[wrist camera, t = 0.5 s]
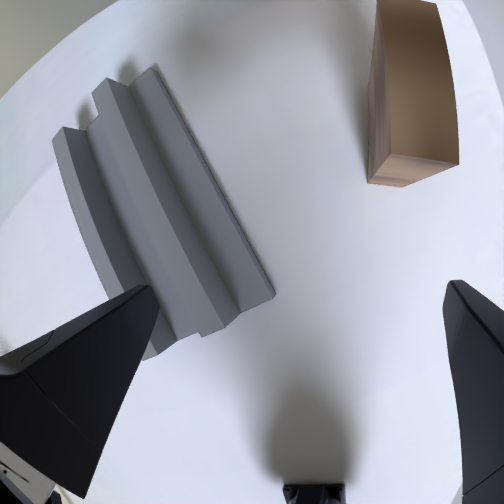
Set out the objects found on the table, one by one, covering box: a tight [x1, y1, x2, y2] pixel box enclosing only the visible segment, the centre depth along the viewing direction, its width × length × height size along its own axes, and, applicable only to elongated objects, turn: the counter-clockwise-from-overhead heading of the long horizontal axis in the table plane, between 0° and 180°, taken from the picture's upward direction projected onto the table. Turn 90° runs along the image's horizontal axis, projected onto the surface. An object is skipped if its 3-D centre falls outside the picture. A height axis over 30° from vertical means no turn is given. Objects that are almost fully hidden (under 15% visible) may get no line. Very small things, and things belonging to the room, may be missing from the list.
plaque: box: [367, 0, 459, 187], centre depth 13 cm, size 7×2×11 cm, turn 176°
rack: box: [52, 68, 276, 361], centre depth 23 cm, size 22×14×4 cm, turn 29°
